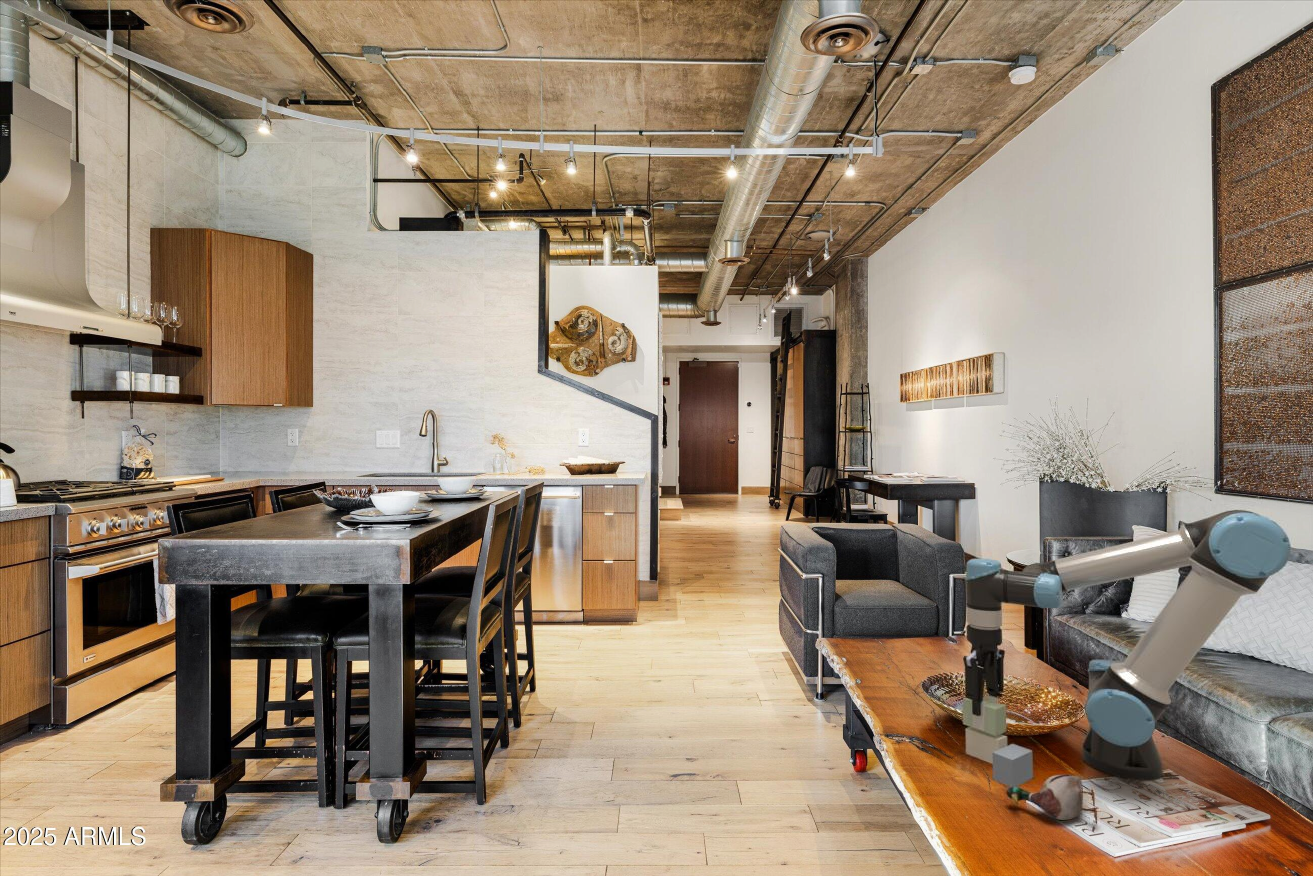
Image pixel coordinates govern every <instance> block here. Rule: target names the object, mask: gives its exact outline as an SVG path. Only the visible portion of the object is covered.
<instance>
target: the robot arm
mask: <svg viewBox="0 0 1313 876" xmlns="http://www.w3.org/2000/svg"><path fill="white" fill-rule="evenodd" d="M1291 553H1292V547H1291V542H1290V539H1289V536H1288V535H1287V532H1285V530H1284V528H1282V527H1281V526H1280V525H1279V524H1278V523H1277V522H1275V521H1274V520H1273V519H1270V518H1269V517H1267V516H1263V515H1261V514H1258V513H1256V512H1252V511H1250V510H1249V511H1248V510H1242V509H1231V510H1227V511H1223V512H1220V513H1217V514H1215V515H1212V516H1209V517H1207V518H1202V519H1200V520H1196V521H1193V522H1188V523H1183V524H1181V525H1180V528H1179V529H1178V530H1177V531H1172V532H1167V533H1164V534H1163V533H1162V534H1159V535H1154V536H1151V537H1147V538H1142V539H1139V540H1134V541H1130V542H1126V543H1122V544H1121V543H1120V544H1117V545H1113V546H1108V547H1104V548H1100V549H1095V550H1092V551H1088V552H1083V553H1079V554H1075V555H1070V556H1066V557H1062V558H1057V559H1054V560H1050V561H1045V562H1034V563H1030V564H1028V565H1027V566H1025V567H1024V568H1023V569H1022V571H1017V570H1007V569H1003V567H1002V563H1001V562H1000V560H996V559H991V558H990V559H989V558H971V559H969V560H968V561H967V562H966V569H965V570H966V573H965V577H964V579H965V595H966V596H965V597H966V598H965V599H966V603H965V605H966V609H965V611H966V623H967V625H966V641H967V642H969V643H970V644H971V648H970V654H969V655H968V656H967V655H964V656H962V657H963V658H962V659H963V664H964V665H963V666H964V686H965V687H964V688H965V690H964V692H965V695H964V696H965V698H968V699H971V700H972V726H973V727H974V728H976V729H979V730H982V731H985V702H984V701H983V698H985V699H988V700H991V701H994V702H997V703H998V698H1003V692H1004V689H1005V688H1004V687H1005V686H1004V684H1005V683H1004V680H1005V679H1004V674H1005V673H1004V670H1005V669H1004V666H1005V665H1004V663H1005V662H1004V659H1005V654H1006V651H1005V650H1004V649H1001V648H999V647H1000V646H1001V645H1003V629H1002V628H1001V627H1002V626H1003V616H1002V615H1003V614H1002V612H1003V610H1002V605H1003V603H1004V604H1012V605H1019V606H1020V605H1021V606H1027V607H1035V608H1041V609H1045V608H1046V609H1058V608H1059V609H1060V607H1061V606H1062V599H1063V597H1062V596H1063V594H1062V593H1065V592H1068V591H1073V590H1078V589H1083V588H1088V587H1093V586H1097V585H1102V584H1106V583H1108V584H1109V583H1112V582H1116V581H1122V580H1127V579H1130V578H1131V579H1132V578H1136V577H1140V576H1146V575H1152V574H1155V573H1160V572H1164V571H1169V570H1175V569H1178V568H1179V569H1180V568H1184V567H1189V566H1191V570H1190V572H1189V573H1188V574H1187V576H1186V577H1185V579H1184V580H1182V582H1181V584H1180V586H1179V587H1178V588H1177V589H1176V591H1175V592H1174V594H1173V595H1172V596H1171V597H1170V599H1169V600H1168V601H1167V603H1166V604H1165V605H1164V607H1163V608H1162V610H1161V611H1160V612H1159V613H1158V615H1157V616H1156V617H1155V619H1154V620H1153V622H1152V623H1151V624H1150V626H1149V627H1148V629H1147V630H1146V632H1144V634H1143V636H1141V637H1140V639H1139V640H1138V642H1137V643H1136V645H1135V646H1134V647H1133V648H1132V650H1131V652H1129V654H1128V655H1127V657H1126V659H1124V661H1120V660H1112V659H1111V660H1110V659H1092V660H1090V661H1089V664H1088V669H1087V673H1088V691H1087V697H1086V700H1085V704H1084V712H1085V715H1086V719H1087V722H1088V723H1089V727H1088V730H1087V732H1086V734H1085V737H1084V741H1083V742H1082V746H1081V757H1082V759H1083V761H1084V762H1085V763H1086V764H1087V765H1089V766H1091V767H1092V768H1094V769H1096V770H1098V771H1101V772H1103V773H1106V774H1109V775H1111V776H1115V777H1120V778H1125V779H1130V780H1137V781H1138V780H1140V781H1151V780H1156V779H1157V780H1158V779H1160V778H1161V777H1162V776H1163V774H1164V773H1163V772H1164V769H1163V760H1162V759H1161V756H1160V753H1159V751H1158V748H1157V745H1156V743H1155V741H1154V737H1153V735H1154V731H1155V730H1156V723H1157V721H1158V720H1159V719H1160V717H1161V716H1162V715H1163V714H1164V713H1165V711H1166V710H1167V708H1168V707H1169V706H1170V704H1171V703H1172V700H1171V698H1170V694H1169V690H1170V689H1171V688H1172V687H1173V685H1174V684H1175V682H1176V681H1177V679H1178V678H1180V676H1181V674H1182V673H1183V671H1184V670H1185V669H1186V668H1187V666H1189V664H1190V663H1191V661H1192V660H1193V659H1194V658H1195V656H1196V655H1198V652H1199V651H1200V650H1201V648H1202V647H1203V646H1204V644H1205V643H1206V642H1207V641H1208V640H1209V638H1210V637H1211V635H1213V633H1214V631H1216V629H1217V628H1218V626H1220V624H1221V623H1222V621H1224V619H1225V617H1227V615H1228V613H1230V611H1231V610H1232V609H1233V607H1234V606H1235V605H1236V604H1237V602H1238V601H1239V599H1240V598H1241V597H1242V596H1248V595H1253V594H1255V595H1256V594H1257V593H1258V591H1260V589H1261V588H1262V587H1263V585H1264V584H1265V583H1266V582H1267V580H1268V579H1269V577H1271V576H1273V575H1275V574H1277V573H1279V572H1280V571H1281V570H1283V569H1284V567H1285V566H1286V565H1287V563H1288V562H1289V560H1290V557H1291ZM998 646H999V647H998ZM985 689H986V694H984V691H985Z"/></svg>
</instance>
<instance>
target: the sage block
mask: <svg viewBox="0 0 1313 876" xmlns="http://www.w3.org/2000/svg"><path fill="white" fill-rule="evenodd" d="M983 701H984V702H985V731H983V732H986V733H989V734H991V735H994V736H997V735H999V734H1002V735H1003V734H1004V733H1006V732H1007V705H1006V704H1003V703H999V702H998V701H997V702H994V701H991V700H988V699H985V697H983ZM962 724H963V725H965V726H967V727H973V726H972V700H971V699H968V698H966V697H963V698H962ZM973 728H974V727H973ZM975 729H976V728H975ZM978 730H979V729H978ZM981 731H982V730H981Z"/></svg>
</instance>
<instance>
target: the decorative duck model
mask: <svg viewBox="0 0 1313 876" xmlns="http://www.w3.org/2000/svg"><path fill="white" fill-rule="evenodd" d="M1084 794H1087V795H1091V800H1092V805H1093V809H1090V808H1086V807H1085V808H1084V807H1083V804H1084V802H1083V801H1084ZM1006 796H1007V797H1009V799H1011V800H1013V802H1014V803H1015V804H1016V806H1019V802H1020V801H1027V802H1030V803H1032V804H1034V805H1036V806H1037V807H1039V808H1040V809H1041V810H1043V812H1045V813H1046V814H1047V815H1048V816H1050V817H1052V818H1054V819H1056V820H1061V821H1068V820H1071V819H1074V818H1077V816H1079V815H1080V813H1081V812H1083V811H1085V812H1093V815H1094V816H1093V817H1094V819H1095V824H1096V825H1098V811H1097V810H1098V809H1097V808H1096V807H1095V804H1096V803H1095V801H1096V800H1095V799H1096V798H1095V797H1096V796H1095V791H1094V790H1093V789H1091V791H1085V790H1084V786H1083V782H1082V779H1081V778H1080V777H1079V776H1078V775H1074V774H1057V775H1051V776H1050V777H1048V778H1046V780H1045V781H1044V782H1043V785H1042V786H1041V788H1040V790H1039V791H1038V792H1030V791H1027V790H1025V789H1023V788H1022V787H1019V786H1017V787H1009V788H1007V790H1006Z"/></svg>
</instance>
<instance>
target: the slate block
mask: <svg viewBox="0 0 1313 876" xmlns="http://www.w3.org/2000/svg"><path fill="white" fill-rule="evenodd" d="M992 753H993V764H992V780H993V781H995V782H997V783H999V784H1002V785H1005V786H1006V787H1009V788H1011V787H1019V786H1021V785H1022V784H1025V783H1026V782H1028V781H1030V780H1032V779H1034V769H1033V768H1034V764H1033V763H1034V762H1033V761H1034V760H1033V750H1032V749H1028V748H1026V747H1023V746H1020V745H1017V744H1015V743H1011V744H1009V745H1008V744H1007V746H1006V747H1004V748H1002V749H999V750H997V751H995V752H992Z"/></svg>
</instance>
